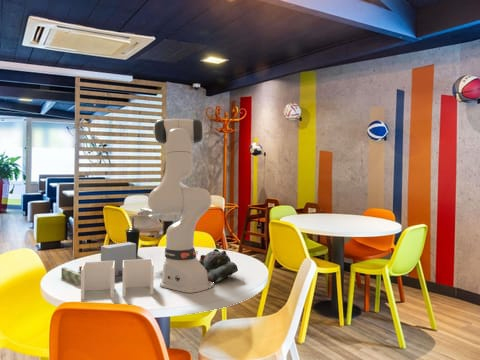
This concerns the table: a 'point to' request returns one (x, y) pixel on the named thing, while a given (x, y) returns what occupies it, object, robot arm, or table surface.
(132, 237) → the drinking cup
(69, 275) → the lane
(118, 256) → the slate block
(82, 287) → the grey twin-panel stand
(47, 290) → the table surface
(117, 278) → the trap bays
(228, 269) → the dark grey lumpy object
